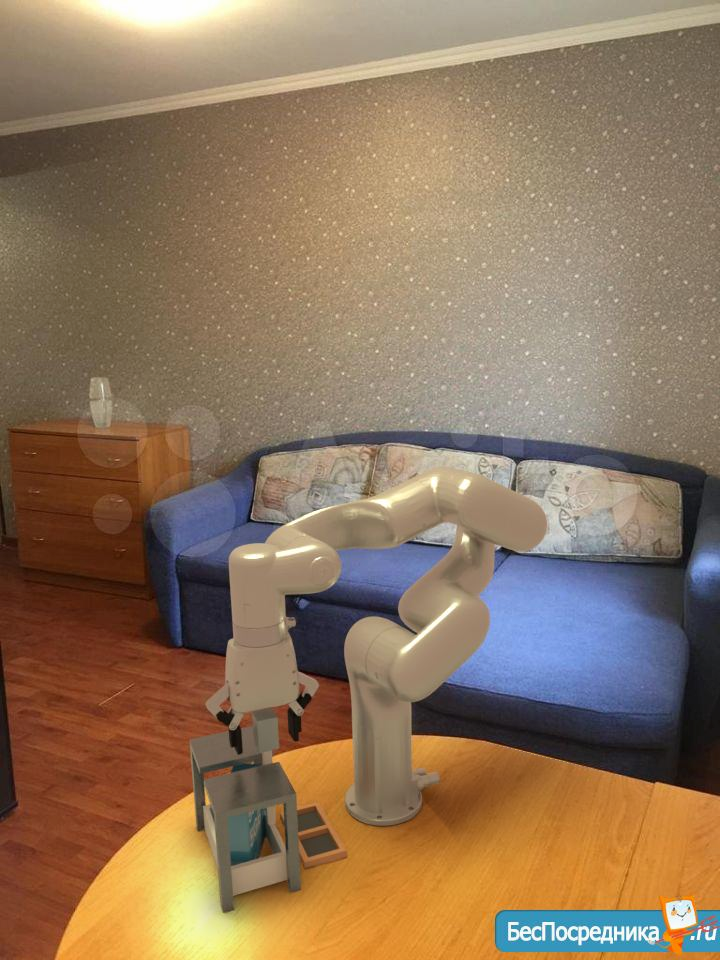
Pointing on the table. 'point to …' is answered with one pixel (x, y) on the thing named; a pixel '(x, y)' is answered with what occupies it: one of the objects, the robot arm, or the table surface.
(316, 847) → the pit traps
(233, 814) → the tunnel
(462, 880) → the table surface
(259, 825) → the data package
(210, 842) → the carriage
